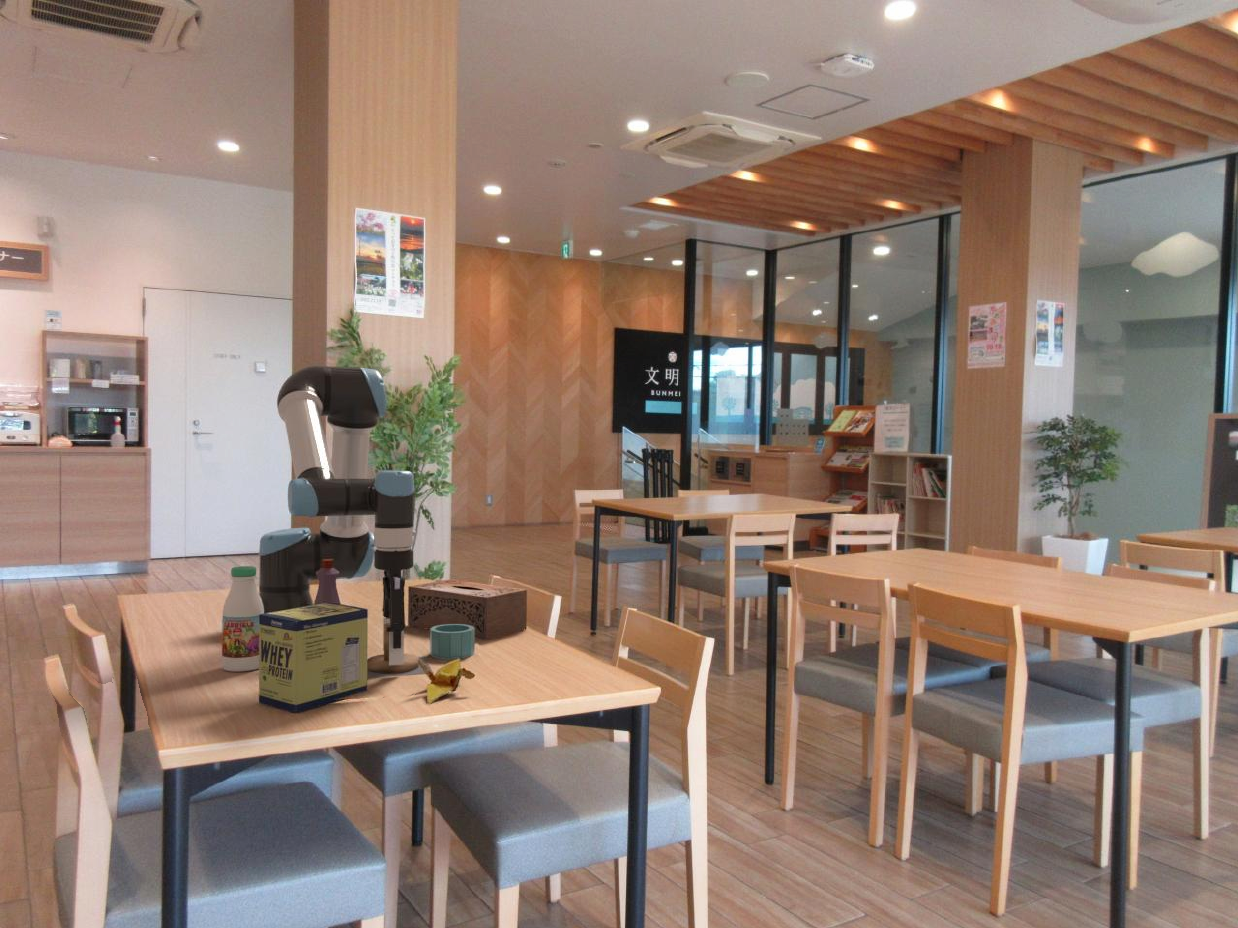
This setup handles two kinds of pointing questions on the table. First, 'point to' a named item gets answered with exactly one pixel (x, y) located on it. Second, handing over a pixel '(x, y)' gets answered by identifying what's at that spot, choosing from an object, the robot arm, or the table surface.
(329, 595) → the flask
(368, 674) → the mat
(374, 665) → the lid
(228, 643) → the milk bottle
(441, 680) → the origami crane
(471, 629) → the teal short cylinder
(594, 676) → the table surface
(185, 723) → the table surface
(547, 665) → the table surface
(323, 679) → the protein box
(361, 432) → the robot arm
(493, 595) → the tissue box cover
